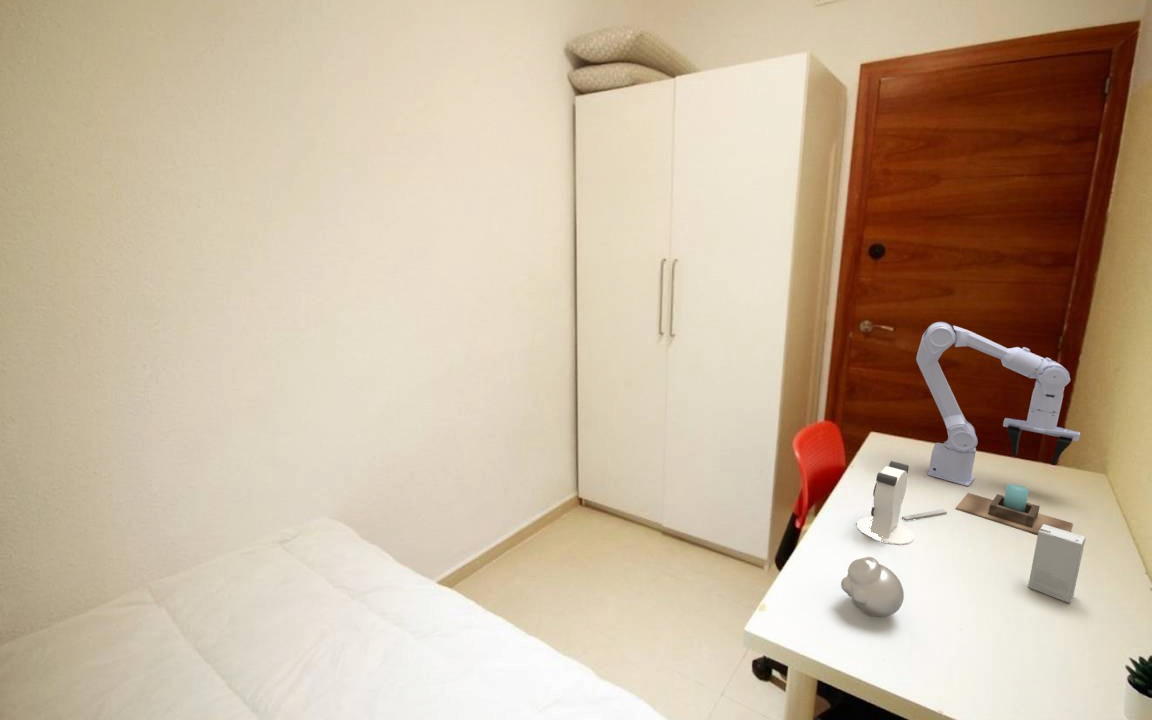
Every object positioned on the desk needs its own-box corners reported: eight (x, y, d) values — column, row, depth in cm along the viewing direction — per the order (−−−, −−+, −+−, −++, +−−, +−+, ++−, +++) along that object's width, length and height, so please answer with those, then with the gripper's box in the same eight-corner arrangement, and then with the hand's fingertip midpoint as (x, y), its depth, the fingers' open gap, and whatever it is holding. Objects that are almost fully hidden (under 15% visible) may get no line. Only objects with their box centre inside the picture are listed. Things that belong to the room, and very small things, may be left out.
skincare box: (1074, 594, 95) (1088, 536, 92) (1069, 605, 92) (1084, 545, 89) (1030, 578, 99) (1043, 522, 97) (1025, 587, 97) (1038, 530, 94)
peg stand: (955, 509, 126) (957, 497, 125) (967, 494, 134) (969, 483, 133) (1065, 543, 111) (1068, 531, 111) (1072, 524, 119) (1075, 513, 118)
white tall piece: (866, 511, 124) (874, 454, 121) (920, 530, 116) (930, 469, 113) (849, 530, 116) (857, 469, 113) (906, 551, 108) (917, 486, 105)
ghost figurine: (840, 587, 96) (846, 540, 94) (899, 605, 92) (907, 555, 90) (836, 616, 89) (843, 565, 87) (900, 637, 84) (909, 584, 82)
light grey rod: (941, 513, 125) (942, 509, 124) (946, 515, 124) (946, 511, 123) (901, 520, 121) (902, 516, 121) (905, 522, 120) (906, 519, 120)
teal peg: (1000, 514, 122) (1005, 487, 121) (1003, 509, 125) (1008, 482, 124) (1022, 520, 120) (1027, 493, 118) (1024, 515, 122) (1030, 488, 121)
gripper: (1004, 405, 132) (995, 454, 135) (1082, 419, 122) (1070, 472, 125) (1010, 400, 137) (1000, 448, 140) (1085, 413, 126) (1073, 464, 129)
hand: (1033, 459), depth 133 cm, fingers open, 7 cm apart
